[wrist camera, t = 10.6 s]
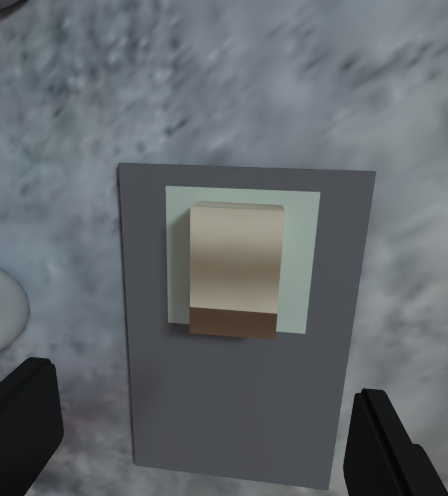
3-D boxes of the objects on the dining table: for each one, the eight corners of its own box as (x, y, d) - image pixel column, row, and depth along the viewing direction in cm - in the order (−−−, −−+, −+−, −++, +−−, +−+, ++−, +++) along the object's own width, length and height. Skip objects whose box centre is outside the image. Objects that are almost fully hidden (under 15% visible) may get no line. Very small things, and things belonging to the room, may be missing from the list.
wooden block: (273, 319, 26) (275, 340, 23) (197, 313, 26) (189, 332, 23) (282, 204, 23) (285, 211, 20) (198, 200, 24) (189, 206, 21)
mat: (137, 460, 32) (134, 465, 31) (121, 162, 24) (118, 163, 24) (327, 484, 30) (328, 490, 30) (373, 171, 23) (376, 171, 22)
